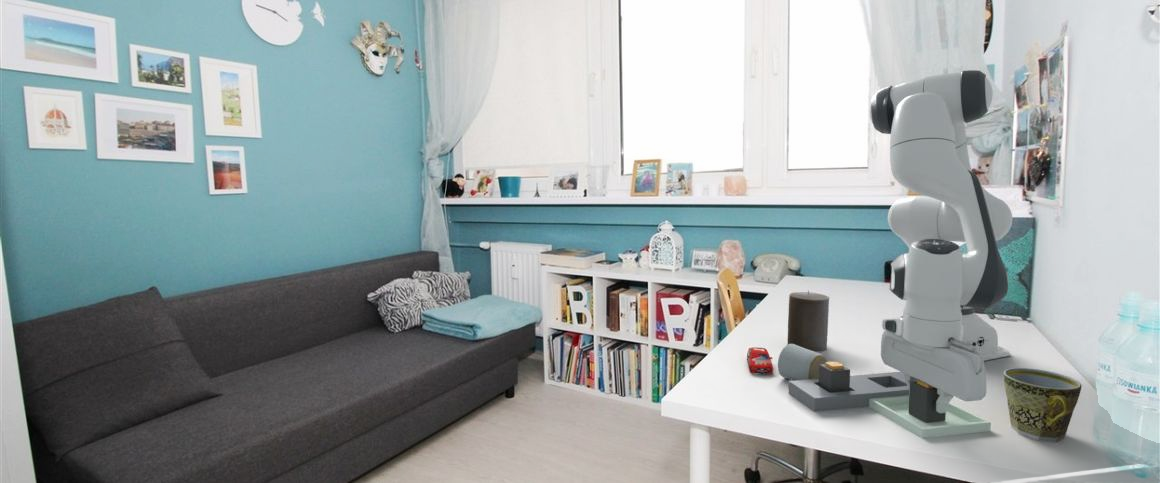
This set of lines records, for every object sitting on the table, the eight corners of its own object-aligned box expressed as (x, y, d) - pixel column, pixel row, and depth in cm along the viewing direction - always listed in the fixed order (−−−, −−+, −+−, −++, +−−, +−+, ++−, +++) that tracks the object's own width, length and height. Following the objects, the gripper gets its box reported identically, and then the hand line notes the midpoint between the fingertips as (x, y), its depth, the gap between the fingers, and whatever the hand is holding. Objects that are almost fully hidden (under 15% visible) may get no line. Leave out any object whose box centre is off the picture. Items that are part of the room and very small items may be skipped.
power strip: (926, 382, 116) (928, 348, 115) (962, 399, 107) (964, 362, 106) (788, 395, 111) (789, 359, 110) (814, 413, 102) (815, 374, 101)
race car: (774, 378, 121) (774, 361, 121) (748, 376, 123) (749, 359, 122) (769, 359, 134) (769, 343, 134) (746, 357, 135) (746, 342, 135)
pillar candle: (788, 350, 139) (791, 293, 137) (785, 339, 148) (787, 286, 147) (829, 354, 136) (832, 295, 135) (824, 342, 146) (826, 287, 144)
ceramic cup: (989, 419, 98) (993, 365, 97) (1056, 425, 96) (1060, 370, 94) (1025, 453, 86) (1029, 393, 85) (1102, 461, 83) (1108, 399, 82)
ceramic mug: (810, 391, 112) (812, 355, 112) (776, 380, 119) (777, 346, 118) (837, 380, 119) (839, 346, 118) (803, 370, 125) (804, 338, 124)
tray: (929, 402, 106) (929, 392, 106) (990, 432, 93) (990, 422, 93) (868, 408, 104) (868, 398, 104) (922, 440, 91) (922, 429, 91)
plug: (927, 411, 101) (929, 377, 100) (945, 420, 97) (947, 385, 96) (908, 413, 100) (910, 378, 99) (925, 422, 96) (927, 387, 96)
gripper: (1000, 347, 87) (994, 429, 89) (904, 316, 107) (901, 383, 109) (965, 350, 86) (960, 432, 88) (875, 318, 106) (873, 386, 108)
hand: (927, 405), depth 98 cm, fingers closed on plug, 4 cm apart
